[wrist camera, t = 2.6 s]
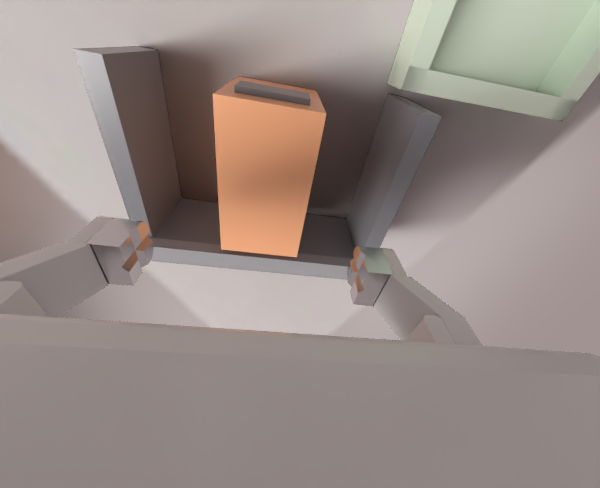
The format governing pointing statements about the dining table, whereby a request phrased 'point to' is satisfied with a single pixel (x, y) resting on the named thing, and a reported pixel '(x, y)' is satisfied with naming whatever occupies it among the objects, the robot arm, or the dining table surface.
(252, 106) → the orange block
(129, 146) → the bay
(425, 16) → the tray
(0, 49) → the dining table surface
